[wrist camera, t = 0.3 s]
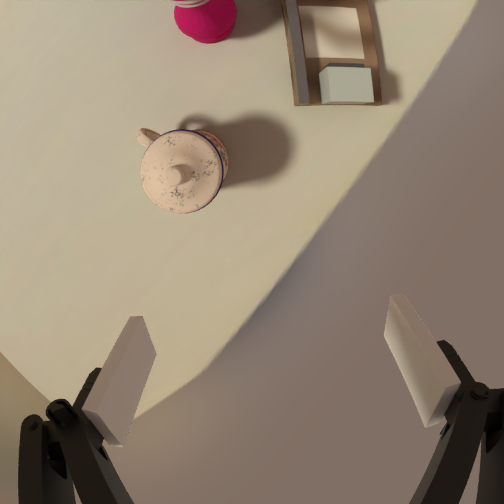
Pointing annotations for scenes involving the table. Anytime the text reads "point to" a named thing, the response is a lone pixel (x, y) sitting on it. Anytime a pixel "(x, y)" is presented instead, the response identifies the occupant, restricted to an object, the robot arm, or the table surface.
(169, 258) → the table surface
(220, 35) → the pepper mill
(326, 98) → the finger block
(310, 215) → the table surface
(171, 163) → the teacup with lid
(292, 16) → the steel rail bar
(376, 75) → the wooden frame tray
